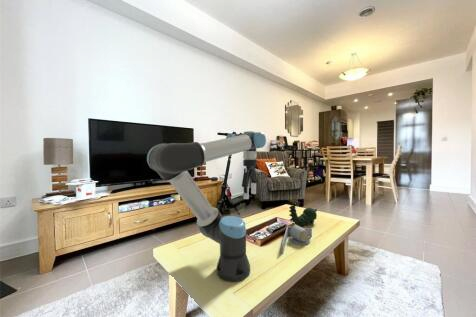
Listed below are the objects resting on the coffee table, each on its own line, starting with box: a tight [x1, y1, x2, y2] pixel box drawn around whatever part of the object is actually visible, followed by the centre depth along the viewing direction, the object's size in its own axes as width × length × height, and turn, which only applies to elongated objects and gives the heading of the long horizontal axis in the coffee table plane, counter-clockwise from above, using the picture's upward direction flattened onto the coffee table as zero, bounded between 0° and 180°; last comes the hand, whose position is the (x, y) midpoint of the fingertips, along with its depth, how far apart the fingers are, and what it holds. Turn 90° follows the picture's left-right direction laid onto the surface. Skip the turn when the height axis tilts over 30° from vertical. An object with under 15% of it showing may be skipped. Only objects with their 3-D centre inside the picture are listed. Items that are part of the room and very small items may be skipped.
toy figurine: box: [288, 201, 318, 228], centre depth 145 cm, size 9×19×25 cm
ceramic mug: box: [289, 224, 311, 242], centre depth 120 cm, size 11×8×8 cm
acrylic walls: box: [281, 225, 313, 255], centre depth 115 cm, size 26×15×5 cm, turn 161°
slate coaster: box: [288, 235, 311, 246], centre depth 120 cm, size 12×12×1 cm
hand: (250, 196), depth 116 cm, fingers open, 13 cm apart
